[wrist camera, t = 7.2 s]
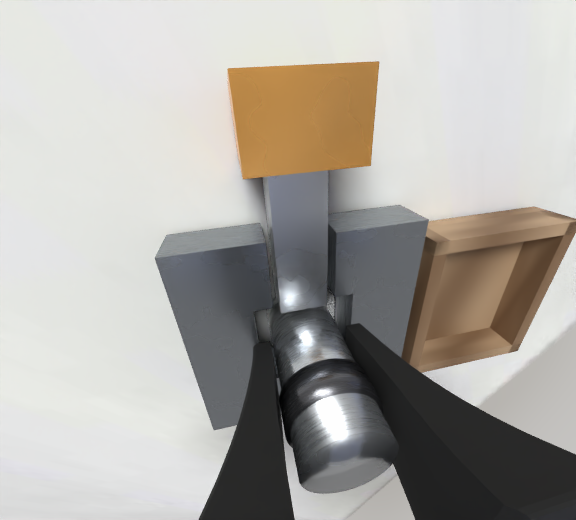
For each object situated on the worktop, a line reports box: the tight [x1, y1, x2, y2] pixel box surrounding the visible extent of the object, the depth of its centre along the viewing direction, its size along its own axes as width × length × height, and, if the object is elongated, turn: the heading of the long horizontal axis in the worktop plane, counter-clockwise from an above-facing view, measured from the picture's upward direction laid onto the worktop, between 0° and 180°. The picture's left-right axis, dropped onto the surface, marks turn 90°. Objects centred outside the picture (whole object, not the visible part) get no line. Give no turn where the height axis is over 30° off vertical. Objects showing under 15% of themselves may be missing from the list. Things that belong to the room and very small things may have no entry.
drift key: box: [228, 61, 379, 313], centre depth 10 cm, size 8×4×3 cm, turn 4°
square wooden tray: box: [401, 207, 576, 373], centre depth 14 cm, size 7×8×2 cm
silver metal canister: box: [267, 297, 399, 493], centre depth 11 cm, size 3×3×7 cm
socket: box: [155, 205, 429, 430], centre depth 13 cm, size 10×10×2 cm
